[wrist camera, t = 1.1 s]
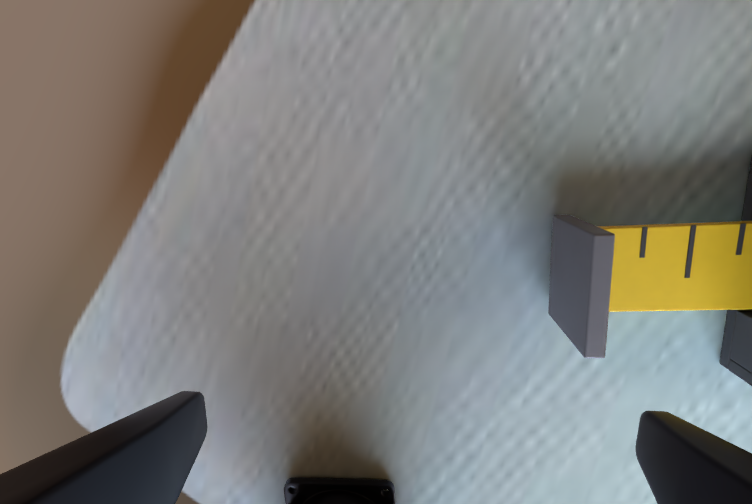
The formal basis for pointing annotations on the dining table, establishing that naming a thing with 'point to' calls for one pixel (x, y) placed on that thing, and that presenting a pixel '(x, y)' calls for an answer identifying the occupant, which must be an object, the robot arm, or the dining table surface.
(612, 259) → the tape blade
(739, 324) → the tape case
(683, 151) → the dining table surface
